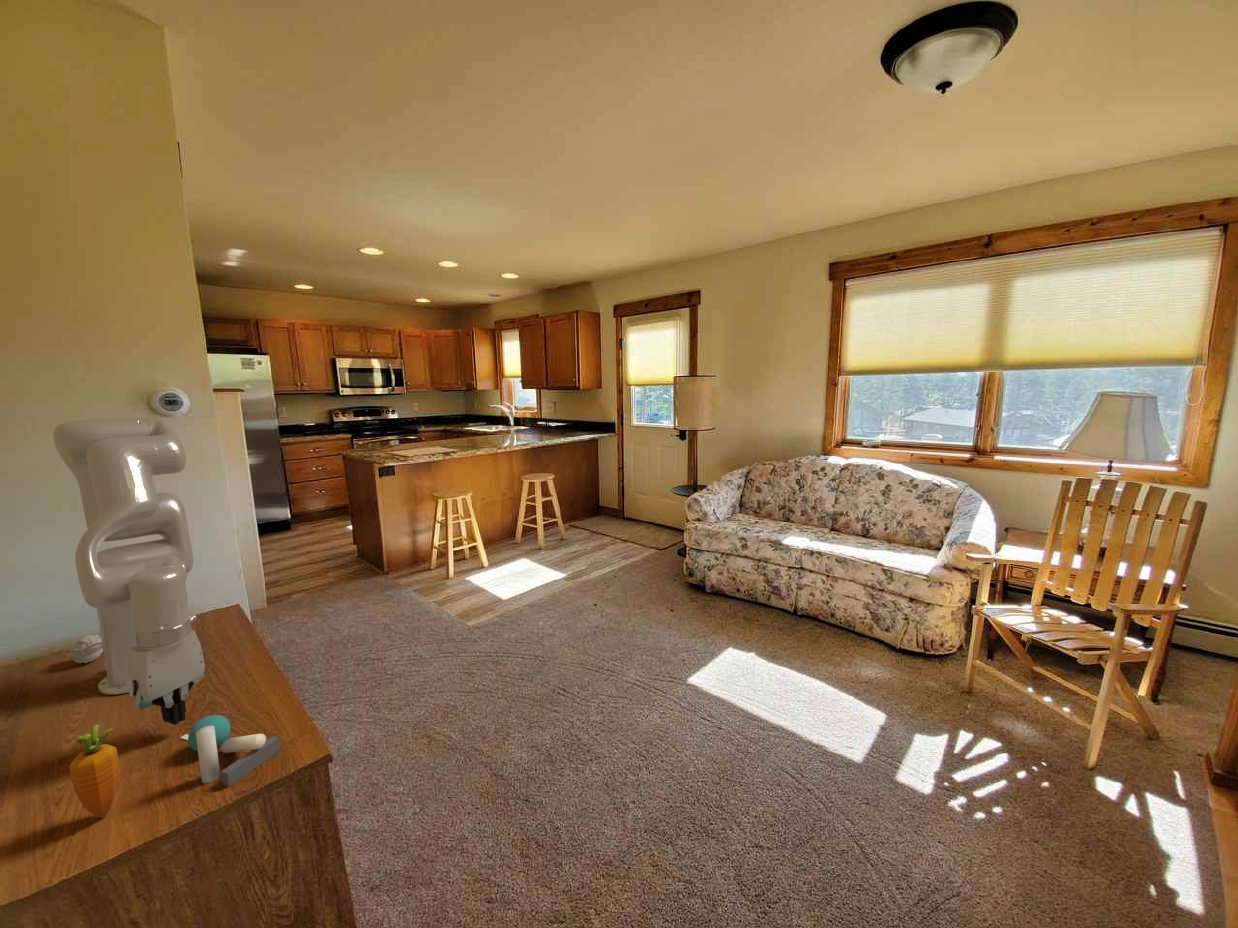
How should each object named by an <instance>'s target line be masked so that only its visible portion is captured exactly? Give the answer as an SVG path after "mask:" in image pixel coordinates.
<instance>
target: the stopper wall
mask: <svg viewBox="0 0 1238 928" xmlns="http://www.w3.org/2000/svg"><path fill="white" fill-rule="evenodd" d="M280 745H281V744H280V738H279V737H278V736H274V735H272V736H271V737H269V738H268V739H266V742H265V744H264V745H263V746H262V747H261V748H259V749H253V750H249V752H247V753H246V754H245V755H243V756H242V757H240V758H239V759H237V760H235V762H233V763H231V764H230V765H229V766H227V767H225V768H223V770H221V771H220V776H221V783H222V786H225V787H227V788H230V787H231V786H233V785H234V784H235V783H237V782H238V781H239V780H241V779H242V778H243V777H245V776H247V775H248V774H249V773H250V772H252V771H253V770H255V769H256V768H257V767H259V766H260V765H261V764H263V763H264V762H266V761H267V760H269V759H270V758H271V757H272V756H274V755H275V754H276V752H277V751H278V750H279V751H281V746H280ZM279 751H278V752H279ZM278 752H277V753H278ZM273 754H274V755H273ZM270 756H271V757H270ZM269 757H270V758H269Z"/></svg>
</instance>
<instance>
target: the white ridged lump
mask: <svg viewBox="0 0 1238 928" xmlns="http://www.w3.org/2000/svg"><path fill="white" fill-rule="evenodd" d="M102 653H104V652H103V646H102V639H101V636H100V635H98V634H93V635H92V634H86V635H85V636H82V637H80V639H78V640H76V641H75V642H74V643H73V644H72V645H71V646H70V647H69V651H68V655H69V657H70V658H71V659H72V660H73V661H74V662H75V663H76V664H81V663H85V664H88V663H87V662H90V663H92V662H94V661H96V660H97V659H99V657H101V655H102ZM95 659H96V660H95ZM93 660H94V661H93ZM91 661H92V662H91Z"/></svg>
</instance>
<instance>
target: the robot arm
mask: <svg viewBox="0 0 1238 928" xmlns="http://www.w3.org/2000/svg"><path fill="white" fill-rule="evenodd" d="M52 437H53V438H52V439H53V443H54V446H55V449H56V451H57V453H58V455H59V456H60V458H61V460H62V461H63V462H64V463H65V465H66V467H67V468H68V469H69V471H71V473H72V475H73V476H74V477H75V479H76V481H77V484H78V487H79V494H80V497H81V502H82V503H81V504H82V508H83V509H82V510H83V513H84V520H85V523H86V527H87V530H86V531H85V532H84V534H83V535H82V536H81V538H80V540H79V541H78V544H77V546H76V549H75V550H76V551H75V556H74V557H75V560H74V561H75V568H76V573H77V577H78V583H79V588H80V591H81V594H82V597H83V600H84V601H85V603H86V604H87V605H88V606H89V607H91V608H95V609H96V614H97V620H98V626H99V631H100V637H101V639H102V646H103V652H102V653H103V657H104V663H103V667H104V668H105V671H106V677H104V678H103V679H102V680H100V681H99V683H98V685H97V687H98V688H97V689H98V692H99V693H100V694H104V695H110V696H111V695H122V694H126V693H129V696H130V697H131V698H135V700H134V708H135V709H137V710H144V709H146V708H150V707H153V706H158V707H160V711H161V719H162V720H163V722H165V723H168V724H171V725H178V724H179V723H180V722H183V721H185V720H186V714H185V713H186V712H187V708H186V707H187V706H186V702H185V701H186V700H187V699H188V697H189V692H190V691H191V689H192V688H193V686H194V685H197V683H198V682H200V681H201V680H202V679H203V678H204V677H205V674H204V673H205V669H206V668H205V667H206V666H205V658H204V654H203V649H202V646H201V643H200V640H199V638H198V635H197V633H196V631H195V630H194V629H192V624H193V623H195V622H197V620H198V617H197V616H196V615H195V614H192V615H190V610H189V601H188V593H187V585H186V584H187V583H186V580H187V578H188V573H190V571H192V570H193V566H194V554H193V548H192V547H193V546H192V542H191V536H190V532H189V527H188V520H187V516H186V511H185V510H186V509H185V506H184V505H183V502H182V501H181V499H180V498H179V497H178V496H177V495H176V494H173V493H169V492H158V493H157V491H156V487H155V484H154V483H155V482H154V480H153V476H160V475H172V474H177V473H180V472H182V471H183V470H184V468H185V467H186V464H187V457H186V456H187V455H186V452H185V449H184V446H183V444H182V442H181V440H180V439H179V437H178V435H177V434H176V432H175V431H174V430H173V429H172V428H171V426H170V425H169V423H167V422H166V421H165V420H164V419H161V418H154V417H136V418H135V417H133V418H129V417H128V418H126V417H125V418H91V419H89V418H87V419H85V418H84V419H76V420H75V419H74V420H70V421H69V420H68V421H65V422H62V423H59V424H58V425H57V426H55V428H54V429H53V434H52ZM153 535H160V536H161V537H162V538H161V539H155V540H150V541H144V542H136V543H131V544H126V545H120V546H115V547H114V546H113V547H110V548H106V549H103V550H100V551H99V548H100V546H101V544H103V543H105V542H117V541H123V540H127V539H128V540H129V539H136V538H141V537H147V536H153Z"/></svg>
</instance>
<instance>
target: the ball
mask: <svg viewBox="0 0 1238 928" xmlns="http://www.w3.org/2000/svg"><path fill="white" fill-rule="evenodd" d="M206 726H214V729H215V737H216V745H217V748H219V747H220V746H222V743H223V742H224V741H225V740H226V739H228V738H229V735H230V732H231V723H230V721H229V720H228V718H227V717H225V716H224V715H219V714H212V715H207V716H205V717H203V718H202V719H199V720H198V721H197V722H196V723H195V724H194V725H193V726H192V728H191V729H190V731H189V734H188V735H189V736H188V741H187V742H188V745H189V746H190V748H191V750H193V751H196V752H198V747H197V739H196V732H197V731H198V730H199V729H201V728H203V727H206Z"/></svg>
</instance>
